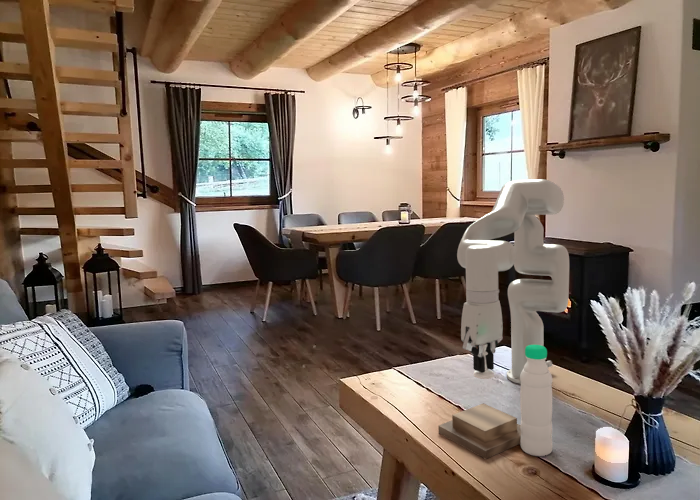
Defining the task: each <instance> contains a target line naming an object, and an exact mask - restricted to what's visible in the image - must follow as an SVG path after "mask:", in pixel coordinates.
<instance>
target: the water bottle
mask: <svg viewBox="0 0 700 500" xmlns="http://www.w3.org/2000/svg"><path fill="white" fill-rule="evenodd" d="M525 355H526V358H527V363H526V364H525V365H524V368H523V370H522V372H521V374H520V381H521V384H520V391H519V392H520V395H519V396H520V397H519V398H520V399H519V401H520V403H519V404H520V408H519V409H520V425H521V443H520V448H521V449H522V451H523V452H525V453H526V454H527V455H531V456H534V457H545V455H546V456H548V455H550V454H551V453H552V452H553V437H552V436H553V423H552V421H553V420H552V419H553V389H552V388H553V387H552V384H553V375H552V373H551V372H550V370H549V367H547V365H546V364H545V362H546V360H547V357H548V349H547V348H546V347H545V346H544V345H543V346H541V345H528V346H526V348H525Z"/></svg>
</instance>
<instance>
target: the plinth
mask: <svg viewBox="0 0 700 500" xmlns="http://www.w3.org/2000/svg"><path fill="white" fill-rule="evenodd" d="M451 417H452V419H451V420H449V421H447V422H443V423H442V424H438V426H437V427H438V428H437V429H438V434H440V435H441V436H444V437H445V438H447V439H449V440H450V441H452V442H454V443H456V444H458V445H460V446H462V447H463V448H465V449H467V450H468V451H471V452H472V453H474V454H476V455H477V456H479V457H482V458H483V459H484V460H487V459H490V458H491V457H493V456H496V455H498V454H500V453H504V452H505V451H507V450H509V449H511V448H514V447H516V446H518V445H521V424H519V423H518V418H517V417H515V416H513V415H511V414H509V413H507V412H504V411H502V410H499V409H497V408H495V407H492V406H491V405H488V404H486V403H481V404H478V405H475V406H473V407H470V408H467V409H465V410H462V411H459V412H457V413H453V414H452V416H451Z"/></svg>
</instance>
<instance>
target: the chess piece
mask: <svg viewBox="0 0 700 500" xmlns="http://www.w3.org/2000/svg"><path fill="white" fill-rule="evenodd" d="M486 348H487V343H485V344H483V356H484V357H485V372H483V373H481V372H479V371H476V370H474V371H473V373H472V374H473V377H475V378H476V379H480V380H489V379H492V378H494V377H495V374H494V371H493V370H490V369H488V368H487V364H486V356H485V355H487V354H488V353H487V352H486Z"/></svg>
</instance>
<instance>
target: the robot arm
mask: <svg viewBox="0 0 700 500" xmlns="http://www.w3.org/2000/svg"><path fill="white" fill-rule="evenodd" d="M564 204H565V197H564V193H563V190H562V188H561V187H560V186H559V185H558V184H557V183H555V182H554V181H551V180H548V179H545V178H544V179H543V178H538V179H535V178H534V179H515V180H514V179H513V180H511V181H508V182H506V183H505V184H503V186H502V187H501V189H500V191H499V193H498V195H497V199H496V201H495V202H494V204H493V207H492V209H491V212H489V213H486V214H485V215H484V216H482V217H480V218H478V219H477V220H476V221H474V222H473V223H471V224H470V225H469V226H467V228H466V230H465V231H464V233H463V235H462V238H461V239H460V242H459V244H458V248H457V253H456V257H457V259H456V260H457V262H458V264H459V265H460V266H461V267H462V268H464V269H465V290H466V291H465V292H466V293H465V295H466V297H465V298H466V300H465V301H466V302H464V303H463V306H462V307H463V308H462V313H461V325H460V326H461V328H460V339H461V341H462V342H463V345H462V349H463V350H467V351H469V352H470V353H471V355H472V356H473V362H472V363H473V364H472V367H473V370H474V371H475V370H476V371H479V372H481V373H483V372H485V357H484V356H483V344H485V343H487V348H486V352H487V353H488V354H487V355H485V356H486V364H487V368H488V370H491V371H493V370H494V368H495V367H494V365H495V362H494V361H495V360H494V355H495V353H496V348H497V346H498V344H499V343H500V342H501V341H502V340H503V314H502V306H501V303H500V300H499V293H500V289H499V272H505V271H508V270H510V269H511V268H512V267H513V266H514V270H515V271H516V272H517V273H519V274H522V275H529V276H531V275H532V276H546V277H547V276H549V277H551V279H536V278H535V279H533V278H518V279H515V280H513V281H511V282H510V283H509V285H508V288H507V299H508V305H509V311H510V322H511V323H510V327H511V328H510V331H511V332H510V335H511V337H510V338H511V339H510V340H511V369H509V370H507V372H506V378H507V379H508V380H509V381H511V382H513V383H516V384H519V385H521V381H520V374H521V372H522V370H523V368H524V365H525V364H526V363H527V358H526V355H525V348H526V346H528V345H541V346H544V323H543V320H542V318H541V316H539V314H538V312H544V313H546V312H547V313H562V312H565V311H566V309H567V307H568V305H569V294H570V293H569V289H570V256H569V255H570V254H569V252H568V250H567V249H568V248H566V247H565V246H564V245H561V244H554V243H551V244H549V243H544V233H545V232H544V229H545V228H544V226H543V224H542V222H541V221H540V219H539V218H538V217H537V215H538V216H539V215H540V216H541V215H543V216H545V215H558V214H559V213H560V212H561V211H562V210H563V207H564ZM513 233H514V236H513V237H514V239H513V240H514V243H512V242H509V241H506V240H496V239H499V238H501V237H506V236H508V235H511V234H513ZM494 239H495V240H494ZM545 364H546V365H547V367H548V368H550V367H552V366H553V361H552V360H547V361H546V360H545Z"/></svg>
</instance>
